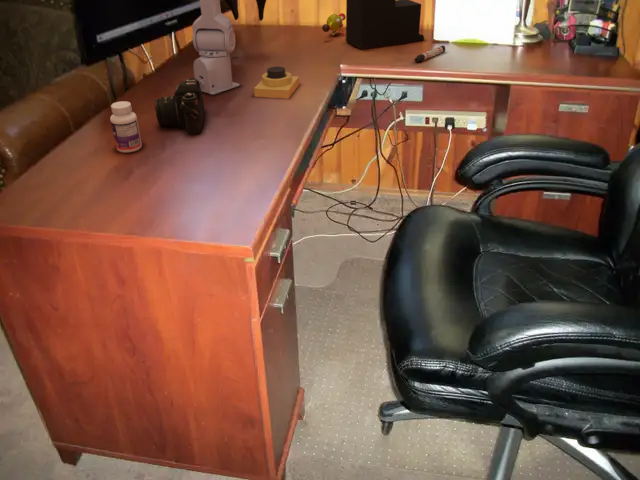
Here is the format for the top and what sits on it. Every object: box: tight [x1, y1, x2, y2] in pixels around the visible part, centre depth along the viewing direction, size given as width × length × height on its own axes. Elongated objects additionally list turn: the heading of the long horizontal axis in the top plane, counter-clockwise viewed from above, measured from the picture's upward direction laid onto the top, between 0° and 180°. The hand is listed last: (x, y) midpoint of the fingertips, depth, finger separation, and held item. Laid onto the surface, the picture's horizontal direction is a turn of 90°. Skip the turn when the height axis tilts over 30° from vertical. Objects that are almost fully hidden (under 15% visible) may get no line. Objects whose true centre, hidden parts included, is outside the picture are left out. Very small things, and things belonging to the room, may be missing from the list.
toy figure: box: [321, 12, 346, 37], centre depth 206 cm, size 18×6×7 cm, turn 159°
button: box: [266, 66, 286, 79], centre depth 160 cm, size 5×5×2 cm
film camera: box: [154, 77, 205, 135], centre depth 141 cm, size 18×12×10 cm
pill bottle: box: [110, 100, 143, 153], centre depth 130 cm, size 5×5×10 cm
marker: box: [413, 45, 446, 63], centre depth 183 cm, size 15×2×2 cm, turn 139°
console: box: [253, 71, 300, 99], centre depth 161 cm, size 11×9×4 cm
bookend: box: [345, 0, 425, 50], centre depth 194 cm, size 23×11×24 cm, turn 115°
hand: (249, 19), depth 185 cm, fingers open, 7 cm apart
